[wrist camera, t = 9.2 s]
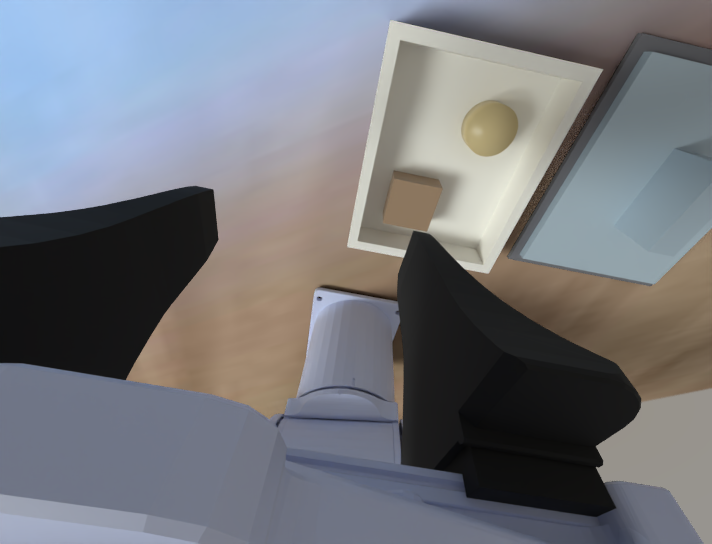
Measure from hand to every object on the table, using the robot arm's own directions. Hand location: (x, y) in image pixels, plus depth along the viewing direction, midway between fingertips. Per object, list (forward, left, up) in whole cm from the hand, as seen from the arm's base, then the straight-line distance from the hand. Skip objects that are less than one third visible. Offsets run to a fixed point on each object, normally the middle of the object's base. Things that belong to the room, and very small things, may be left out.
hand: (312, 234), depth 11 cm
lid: (+2, -19, -10) cm, 22 cm away
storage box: (+1, -6, -10) cm, 12 cm away
